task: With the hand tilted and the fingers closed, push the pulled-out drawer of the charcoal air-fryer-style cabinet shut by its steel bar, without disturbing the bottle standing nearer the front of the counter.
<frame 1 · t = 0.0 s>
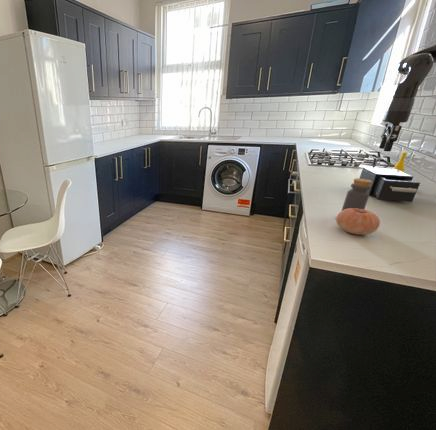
hand: (384, 149, 120), 20 cm above the countertop, tool pointing down, fingers open, 8 cm apart
banana peel: (386, 185, 141), on the countertop
drawer: (393, 188, 120), point 5 cm above the countertop, slide at 6.0 cm
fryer: (378, 192, 130), on the countertop
bottle: (348, 221, 100), on the countertop
orange pumpkin: (353, 232, 92), on the countertop
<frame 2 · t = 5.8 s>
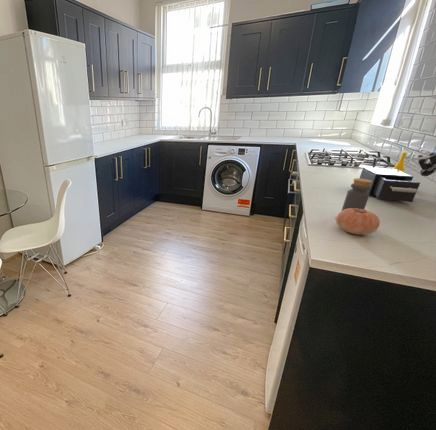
hand: (423, 173, 102), 15 cm above the countertop, tool tilted 45°, fingers closed
nothing on the countertop moved.
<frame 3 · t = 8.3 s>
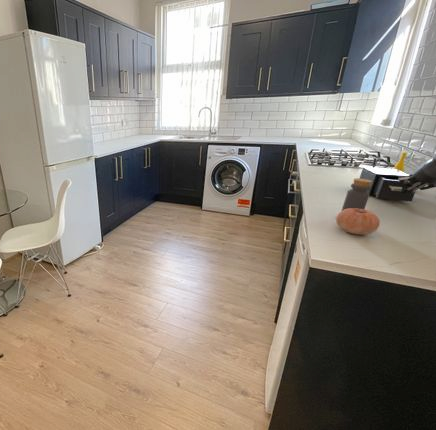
hand: (404, 192, 112), 6 cm above the countertop, tool tilted 45°, fingers closed
drawer: (392, 187, 120), point 5 cm above the countertop, slide at 5.4 cm, touching gripper
everything else where it was.
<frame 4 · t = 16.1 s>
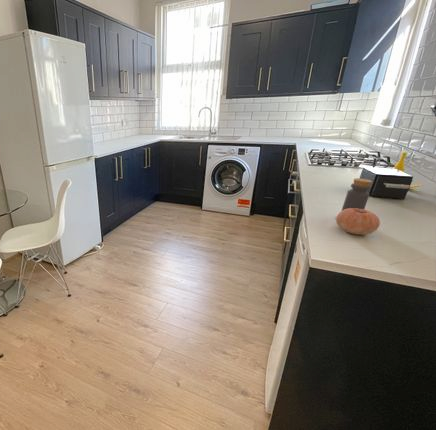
drawer: (387, 184, 124), point 5 cm above the countertop, slide at 0.4 cm
everything else where it was.
at the end: drawer slide at 0.4 cm; bottle moved 0.2 cm from its start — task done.
